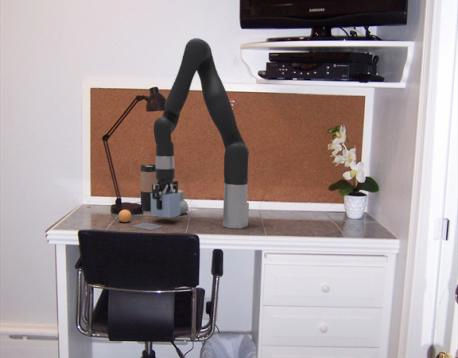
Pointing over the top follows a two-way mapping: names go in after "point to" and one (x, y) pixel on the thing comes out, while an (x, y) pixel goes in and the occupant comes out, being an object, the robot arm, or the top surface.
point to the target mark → (147, 226)
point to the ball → (124, 215)
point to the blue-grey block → (167, 205)
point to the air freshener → (182, 203)
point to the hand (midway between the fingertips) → (165, 207)
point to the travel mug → (147, 185)
